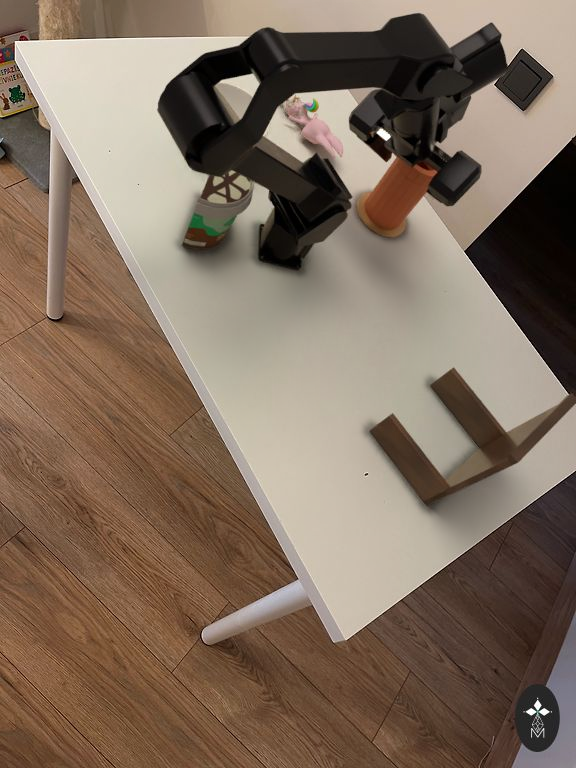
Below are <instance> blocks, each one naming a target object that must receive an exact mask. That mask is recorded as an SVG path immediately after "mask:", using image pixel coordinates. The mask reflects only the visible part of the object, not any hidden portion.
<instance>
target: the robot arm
mask: <svg viewBox="0 0 576 768" xmlns="http://www.w3.org/2000/svg"><path fill="white" fill-rule="evenodd" d="M502 36H503V35H502V33H501V32H500V30H499V29H498V28H497V26H496V24H494V22H492V21H491V22H489V23H487V24H486V25H484V26H483V27H481V28H480V29H478V30H476V31H475V32H473V33H471V34H470V35H468V36H466V37H464V38H463V39H462V40H460V41H459V42H456V43H455V44H453V45H452V46H449V45H448V44H447V42H446V41H445V40H444V38H443V37H442V36H441V35H440V34H439V32H438V31H437V29H436V28H435V26H434V25H433V24H432V23H431V21H430V20H429V19H428V17H427V16H426V15H425V14H424V13H421V12H415V13H410V14H406V15H400V16H399V15H398V16H395V17H391V18H389V19H388V21H386V23H385V24H384V25H383V26H382V27H381V28H380V29H378V30H373V31H369V30H368V31H309V32H308V31H305V32H304V31H301V32H300V31H299V32H298V31H297V32H295V31H294V32H283V31H278V30H276V29H275V28H274V27H270V26H267V27H263V28H260V29H258V30H257V31H255V32H253V33H252V34H251V35H250V36H248V37H247V38H246V39H244V41H242V42H241V43H240V44H238V45H235V46H230V47H225V48H221V49H217V50H211V51H208V52H204V53H203V54H201V55H200V56H199V57H197V58H196V59H195V60H194V61H193V62H191V63H190V64H189V65H188V66H187V67H186V68H184V69H183V70H181V71H180V72H179V73H178V74H176V75H175V76H173V78H172V79H171V80H169V82H168V83H167V84H166V85H165V87H164V89H163V91H162V93H161V94H160V95H159V99H158V101H157V109H156V111H157V113H158V115H159V117H160V118H161V120H162V122H163V124H164V126H165V128H166V129H167V131H168V132H169V134H170V136H171V138H172V139H173V141H174V143H175V145H176V147H177V148H178V150H179V153H180V154H181V155H182V157H183V159H184V161H185V163H186V164H187V166H188V168H189V169H190V170H192V172H193V171H194V172H195V173H199V174H204V175H206V176H207V175H208V176H209V175H212V176H216V177H222V176H224V175H225V174H227V173H228V172H230V171H234V172H236V173H238V174H240V175H242V176H244V177H246V178H248V179H249V180H251V181H253V182H254V184H257V185H259V186H261V187H263V188H265V189H267V190H268V195H267V198H268V201H269V202H270V203H271V204H272V206H273V208H272V210H271V212H270V213H269V215H268V217H267V219H266V221H265V223H260V224H259V225H258V235H257V236H258V238H257V259H258V260H259V261H261V262H264V263H267V264H272V265H276V266H279V267H283V268H287V269H290V270H295V271H301V269H302V260H305V259H306V257H307V256H308V254H309V253H310V251H311V249H312V248H313V247H314V245H315V244H319V243H323V242H325V240H327V239H328V238H329V237H330V236H331V235H332V234H333V233H334V232H335V231H336V230H337V229H338V228H339V227H340V226H341V225H342V224H343V223H344V222H345V221H346V220H347V219H348V215H349V214H348V211H349V210H351V209H352V205H353V204H352V202H351V199H353V195H352V194H351V192H350V190H349V189H348V187H347V185H346V184H345V182H344V181H343V180H342V178H341V177H340V175H339V173H338V171H337V170H336V169H335V167H334V165H333V163H332V162H331V161H330V159H329V158H327V157H326V158H325V157H322V156H321V155H320V153H318V151H316V152H315V153H314V154H313V155H312V156H311V157H308V158H306V159H305V160H304V161H301V160H300V159H298V158H297V157H295V156H294V155H292V154H291V153H289V152H288V151H286V150H285V149H283V148H282V147H281V146H279V145H277V144H276V143H274V141H272V140H270V139H268V138H267V136H266V137H264V136H263V134H264V133H265V131H266V129H267V127H268V125H269V123H270V124H271V121H272V119H273V117H274V115H275V114H276V111H277V109H278V108H279V107H280V106H282V105H283V104H285V102H286V100H288V99H289V100H290V98H292V97H294V96H295V94H296V95H297V94H307V93H321V92H332V91H345V90H359V89H370V88H371V89H372V88H375V89H373V90H371V91H370V92H368V94H367V95H366V96H365V97H364V98H363V99H362V100H361V101H360V102H359V104H357V105H356V107H355V108H354V109H353V110H352V111H350V114H349V116H348V127H349V131H350V132H352V133H353V134H354V135H355V136H356V137H357V139H359V140H360V141H361V142H362V143H364V145H366V147H368V148H369V149H370V150H371V151H372V152H374V154H376V155H377V156H378V157H379V158H380V159H381V160H383V161H384V162H385V163H388V162H389V161H390V160H391V159H392V156H393V155H394V156H396V157H398V158H400V159H401V160H402V161H404V162H405V163H406V164H407V165H409V166H410V167H411V168H413V167H414V166H415V165H416V164H417V163H418V162H421V161H424V162H425V163H426V164H428V165H429V166H430V167H432V168H433V169H434V170H436V171H437V173H436V174H435V175H434V177H433V178H432V180H431V181H430V183H429V185H428V190H427V191H426V194H427V195H428V196H429V197H430V198H431V199H432V201H433V200H435V201H437V202H438V203H440V204H443V205H444V206H446V208H447V207H454V206H455V205H456V204H457V203H458V201H460V200H461V198H462V197H464V195H466V193H467V192H468V191H469V190H470V189H471V188H473V186H474V185H475V184H476V183H477V182H478V181H479V180H480V178H481V176H482V173H483V172H482V164H480V163H479V162H478V161H476V160H475V159H474V158H472V157H471V156H470V155H468V154H467V153H466V152H464V151H463V150H458V151H456V152H455V153H454V154H453V155H452V156H451V155H450V154H448V153H447V152H446V151H444V150H443V149H441V148H440V147H439V146H437V145H436V144H437V143H439V144H442V143H443V142H444V141H445V140H446V139H447V138H448V133H449V130H450V129H451V128H452V127H453V126H454V125H456V124H457V123H459V122H461V121H462V120H463V119H464V116H465V114H466V112H467V110H468V107H469V104H470V102H471V100H472V95H473V94H475V93H477V92H479V91H481V90H482V89H483V88H486V87H487V86H488V85H490V84H492V83H493V82H496V81H497V80H499V79H500V78H502V77H504V76H505V74H506V73H507V72H508V69H509V65H508V63H507V57H506V56H507V55H506V51H505V48H504V46H503V43H502V41H501V40H502ZM249 75H253V76H254V78H255V79H256V81H257V82H258V86H257V88H256V90H255V91H254V94H253V98H252V100H251V102H250V104H249V106H248V107H247V109H246V111H245V113H244V115H243V117H242V119H240V118H239V117H238V116H237V114H236V113H235V112H234V110H233V109H232V107H231V106H230V105H229V103H228V102H227V101H226V99H225V98H224V97H223V95H222V94H221V93H220V91H219V90H218V89H217V88H216V87H215V85H216V84H217V83H219V82H220V81H224V80H230V79H234V78H239V77H244V76H249ZM282 103H283V104H282ZM281 104H282V105H281Z"/></svg>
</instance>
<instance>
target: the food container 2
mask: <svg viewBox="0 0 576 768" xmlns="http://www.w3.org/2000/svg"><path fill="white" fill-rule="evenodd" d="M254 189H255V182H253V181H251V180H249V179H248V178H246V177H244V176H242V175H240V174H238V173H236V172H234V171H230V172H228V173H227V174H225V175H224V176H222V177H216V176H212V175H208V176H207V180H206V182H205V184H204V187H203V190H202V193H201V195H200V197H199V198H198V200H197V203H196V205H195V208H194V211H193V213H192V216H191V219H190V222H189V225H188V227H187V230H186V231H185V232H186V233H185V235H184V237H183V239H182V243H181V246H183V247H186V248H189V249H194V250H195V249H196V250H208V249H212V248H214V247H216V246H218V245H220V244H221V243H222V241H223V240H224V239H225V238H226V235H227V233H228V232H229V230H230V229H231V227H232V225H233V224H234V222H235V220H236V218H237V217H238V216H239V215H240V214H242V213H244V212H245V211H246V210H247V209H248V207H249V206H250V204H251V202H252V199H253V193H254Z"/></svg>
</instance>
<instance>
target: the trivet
mask: <svg viewBox="0 0 576 768" xmlns="http://www.w3.org/2000/svg"><path fill="white" fill-rule="evenodd" d="M371 192H372V191H367V192H364V193H363V194H361V195H360V197H359V199H357V203H356V211H357V214H358V217H359V218H360V220H361V221H362V223H363V224H364V225H365V226H366V227H367V228H368V229H369V230H371V231H372V232H373V233H375V234H377V235H379V236H381V237H385V238H395V237H398V236H400V235H402V234H403V232H404V231H405V230H406V227H407V217H406V218H405V219H404V221H403V222H402V223H401V224H400V225H399V226H398V227H397V228H395V229H385V228H382V227H380V226H378V225H376V224H375V223H374V222H373V221H372V220H371V219H370V218H369V217H368V215H367V214H366V211H365V201H366V200H367V198H368V197H369V195H370V194H371Z"/></svg>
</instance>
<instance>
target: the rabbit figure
mask: <svg viewBox="0 0 576 768" xmlns="http://www.w3.org/2000/svg"><path fill="white" fill-rule="evenodd" d="M285 102H286V103H285V113H286V115H287V116H288V119H289V120H291V121H293V122H295V123H298V124H299V125H301V126H303V128H302V130H301V136H302V137H303V138H305V139H306V140H307V141H308V142H310V143H312V144H313V145H321V146H322V147H324V148H325V150H326V151H328V153H329V154H330V156H331V157H332V159H336V157H337V156H336V154H335V152H336V153H337V154H338V156H339V158H342V157H343V156H344V146H343V144H342V141H341V140H340V138H338V136H337V135H335V134H333V133H332V131H331V129H330V127H329V125H328V124H327V123H326V122H325V121H324V120H322V119H320V118H318V116H319V114H318V112H317V111H318V110H319V108H320V107H319V106H320V105H319V102H318V100H316V99H315V98H312V102H303V101H301V97H298V96H297V93H296V94H294V96H293V98H292V100H291V101H290V98H289V99H288V100H286V101H285ZM283 104H284V103H282V104H281V105H280V106H282V105H283ZM308 112H310V113H314V116H313V117H310V116H309V114H308Z"/></svg>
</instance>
